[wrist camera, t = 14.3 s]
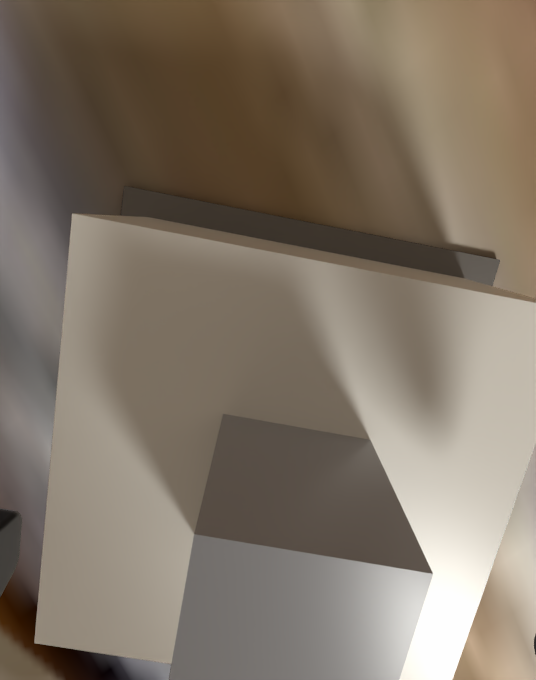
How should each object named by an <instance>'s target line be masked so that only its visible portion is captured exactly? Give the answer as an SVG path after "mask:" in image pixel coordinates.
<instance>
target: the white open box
mask: <svg viewBox="0 0 536 680" xmlns="http://www.w3.org/2000/svg"><path fill="white" fill-rule="evenodd" d="M535 444H536V299H535V298H532V297H528V296H525V295H521V294H518V293H514V292H511V291H507V290H504V289H500V288H496V287H493V286H489V285H486V284H482V283H479V282H475V281H472V280H468V279H465V278H460V277H455V276H449V275H444V274H439V273H434V272H429V271H424V270H418V269H413V268H408V267H403V266H398V265H393V264H388V263H382V262H377V261H372V260H367V259H362V258H357V257H351V256H346V255H341V254H336V253H331V252H326V251H321V250H315V249H310V248H305V247H300V246H295V245H290V244H284V243H279V242H274V241H269V240H264V239H259V238H254V237H248V236H243V235H238V234H233V233H228V232H223V231H217V230H212V229H207V228H202V227H197V226H192V225H187V224H181V223H176V222H171V221H166V220H161V219H156V218H150V217H136V216H116V215H95V214H75V213H72V222H71V233H70V244H69V256H68V267H67V278H66V290H65V301H64V312H63V324H62V335H61V346H60V358H59V369H58V380H57V392H56V403H55V415H54V426H53V437H52V449H51V460H50V471H49V483H48V494H47V505H46V517H45V528H44V539H43V551H42V562H41V573H40V585H39V596H38V607H37V619H36V630H35V641H34V643H37V644H44V645H50V646H57V647H63V648H70V649H76V650H83V651H89V652H96V653H102V654H109V655H115V656H122V657H128V658H135V659H141V660H148V661H154V662H161V663H167V664H171V669H170V675H169V680H452V679H453V676H454V673H455V670H456V668H457V665H458V662H459V659H460V656H461V653H462V651H463V648H464V645H465V642H466V639H467V637H468V634H469V631H470V628H471V625H472V622H473V620H474V617H475V614H476V611H477V608H478V605H479V603H480V600H481V597H482V594H483V591H484V588H485V586H486V583H487V580H488V577H489V574H490V571H491V569H492V566H493V563H494V560H495V557H496V555H497V552H498V549H499V546H500V543H501V540H502V538H503V535H504V532H505V529H506V526H507V523H508V521H509V518H510V515H511V512H512V509H513V506H514V504H515V501H516V498H517V495H518V492H519V489H520V487H521V484H522V481H523V478H524V475H525V473H526V470H527V467H528V464H529V461H530V458H531V456H532V453H533V450H534V447H535Z"/></svg>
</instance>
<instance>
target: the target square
mask: <svg viewBox="0 0 536 680" xmlns="http://www.w3.org/2000/svg"><path fill="white" fill-rule="evenodd" d="M121 216H136V217H150V218H156V219H161V220H166V221H171V222H176V223H181V224H187V225H192V226H197V227H202V228H207V229H212V230H217V231H223V232H228V233H233V234H238V235H243V236H248V237H254V238H259V239H264V240H269V241H274V242H279V243H284V244H290V245H295V246H300V247H305V248H310V249H315V250H321V251H326V252H331V253H336V254H341V255H346V256H351V257H357V258H362V259H367V260H372V261H377V262H382V263H388V264H393V265H398V266H403V267H408V268H413V269H418V270H424V271H429V272H434V273H439V274H444V275H449V276H455V277H460V278H465V279H468V280H472V281H475V282H479V283H482V284H486V285H489V286H492V285H493V282H494V279H495V276H496V272H497V269H498V266H499V262H500V260H498V259H493V258H488V257H483V256H477V255H472V254H467V253H462V252H457V251H452V250H447V249H442V248H437V247H432V246H427V245H422V244H417V243H412V242H406V241H401V240H396V239H391V238H386V237H381V236H376V235H371V234H366V233H361V232H356V231H351V230H346V229H341V228H335V227H330V226H325V225H320V224H315V223H310V222H305V221H300V220H295V219H290V218H285V217H280V216H275V215H270V214H264V213H259V212H254V211H249V210H244V209H239V208H234V207H229V206H224V205H219V204H214V203H209V202H204V201H199V200H193V199H188V198H183V197H178V196H173V195H168V194H163V193H158V192H153V191H148V190H143V189H138V188H133V187H127V186H124V191H123V200H122V209H121Z"/></svg>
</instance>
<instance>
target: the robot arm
mask: <svg viewBox="0 0 536 680" xmlns="http://www.w3.org/2000/svg"><path fill="white" fill-rule="evenodd" d="M21 524H22V518H21V515H20V513H19V512H17V511H12V510H6V509H0V596H1V595H2V593H3V591H4V589H5V587H6V585H7V583H8V581H9V580H10V578H11V576H12V574H13V572H14V570H15V568H16V565H17V562H18V558H19V551H20V537H21ZM534 649H535V654H536V635H535V638H534Z"/></svg>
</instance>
